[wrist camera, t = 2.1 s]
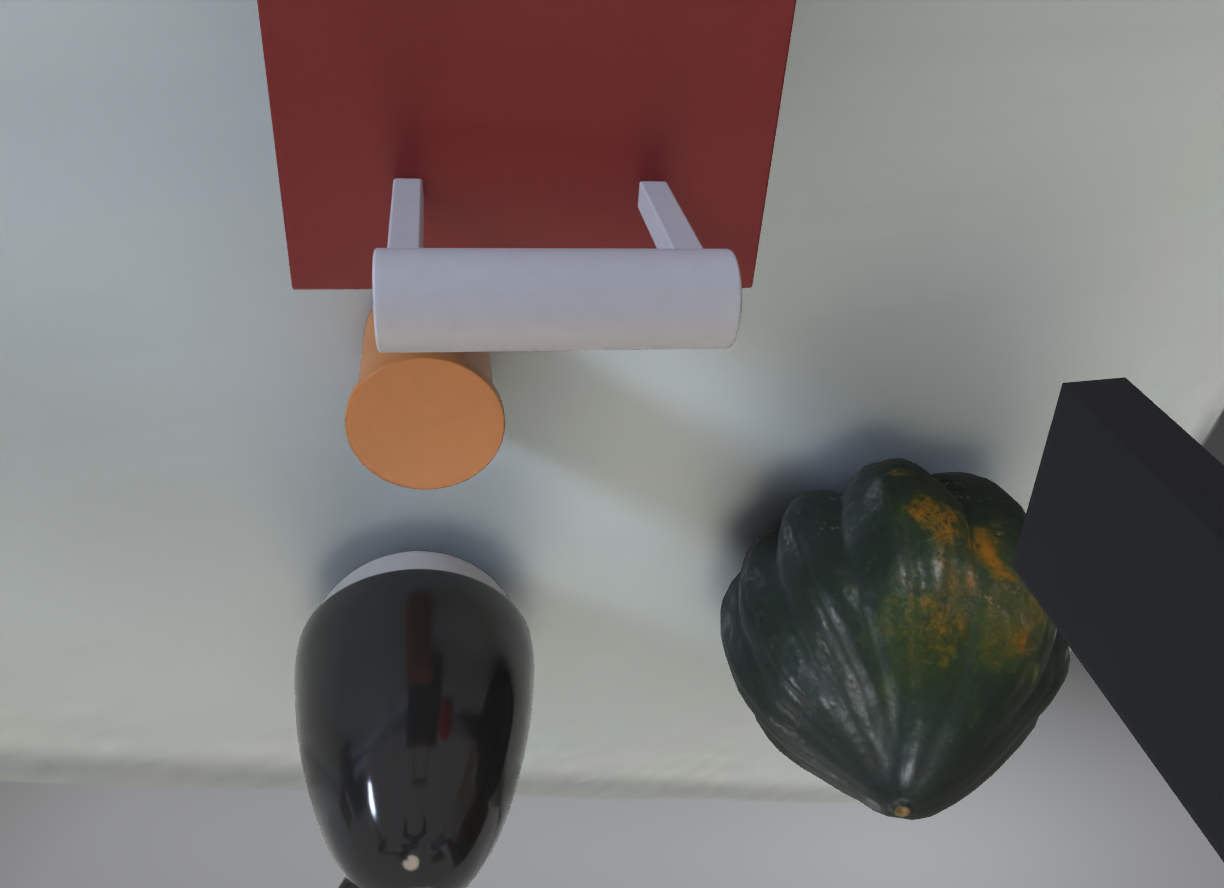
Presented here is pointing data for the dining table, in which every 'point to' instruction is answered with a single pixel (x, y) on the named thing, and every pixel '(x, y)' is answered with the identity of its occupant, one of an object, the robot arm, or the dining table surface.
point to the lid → (528, 164)
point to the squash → (894, 637)
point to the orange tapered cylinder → (424, 415)
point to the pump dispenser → (413, 719)
